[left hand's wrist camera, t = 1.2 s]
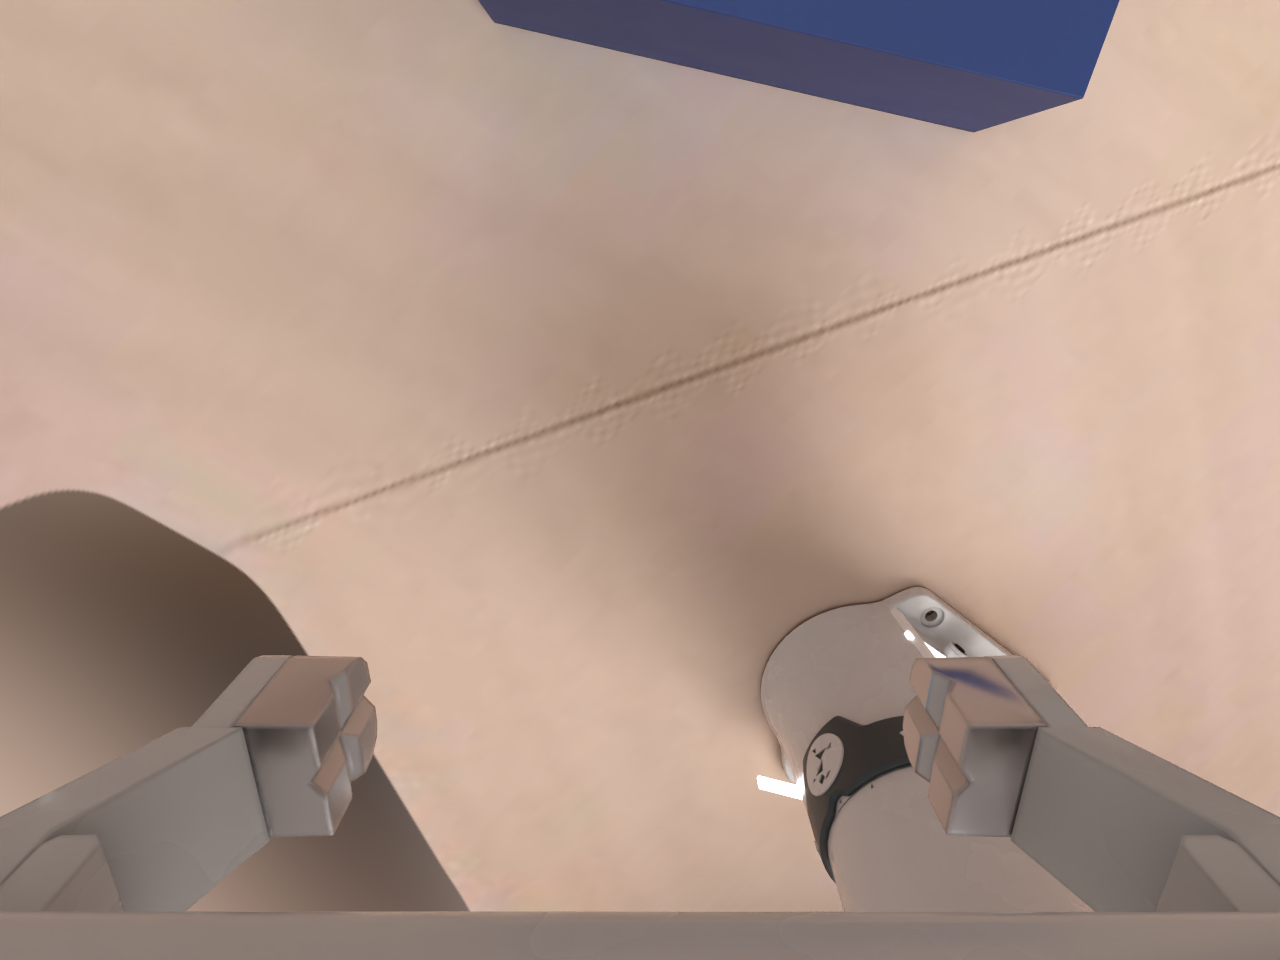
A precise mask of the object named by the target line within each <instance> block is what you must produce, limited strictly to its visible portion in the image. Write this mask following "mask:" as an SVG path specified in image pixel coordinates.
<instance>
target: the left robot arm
mask: <svg viewBox="0 0 1280 960" xmlns="http://www.w3.org/2000/svg"><path fill="white" fill-rule="evenodd" d="M929 611H933V613H932V614H931V615H929V616H925V615H926V613H927V612H929ZM370 682H371V679H370V674H369V669H368V664H367V662H366V661H365V660H364V659H363V658H362V657H335V656H260V657H257V658H254V659H253V660H252V661H251V662H250V663H249V664H248V665H247V666H246V667H245V668H244V670H243V671H242V672H241V673H240V674H239V675H238V676H237V677H236V678H235V679H234V681H233V682H232V683H231V684H230V685H229V686H228V687H227V688H226V689H225V691H224V692H223V693H222V694H221V695H220V696H219V697H218V698H217V699H216V701H215V702H214V703H213V704H212V705H211V706H210V707H209V708H208V709H207V711H206V712H205V713H204V714H203V715H202V716H201V717H200V718H199V719H198V720H197V722H196V723H195V724H194V725H193V726H192V727H180V728H178V729H176V730H174V731H172V732H170V733H168V734H166V735H164V736H162V737H160V738H158V739H156V740H154V741H152V742H150V743H148V744H146V745H144V746H142V747H140V748H138V749H136V750H134V751H132V752H130V753H128V754H126V755H124V756H122V757H120V758H118V759H116V760H114V761H112V762H110V763H108V764H106V765H104V766H102V767H100V768H98V769H96V770H94V771H92V772H90V773H88V774H86V775H84V776H82V777H80V778H78V779H76V780H74V781H72V782H70V783H68V784H66V785H64V786H62V787H60V788H58V789H56V790H54V791H52V792H50V793H48V794H46V795H44V796H42V797H40V798H38V799H36V800H34V801H32V802H30V803H28V804H26V805H24V806H22V807H20V808H18V809H16V810H14V811H12V812H10V813H8V814H6V815H4V816H2V817H0V960H1280V817H1278V816H1276V815H1274V814H1272V813H1270V812H1268V811H1266V810H1264V809H1262V808H1260V807H1258V806H1256V805H1254V804H1252V803H1250V802H1248V801H1246V800H1244V799H1242V798H1240V797H1238V796H1236V795H1234V794H1232V793H1230V792H1228V791H1226V790H1224V789H1222V788H1220V787H1218V786H1216V785H1214V784H1212V783H1210V782H1208V781H1206V780H1204V779H1202V778H1200V777H1198V776H1196V775H1194V774H1192V773H1190V772H1188V771H1186V770H1184V769H1182V768H1180V767H1178V766H1176V765H1174V764H1172V763H1170V762H1168V761H1166V760H1164V759H1162V758H1160V757H1158V756H1156V755H1154V754H1152V753H1150V752H1148V751H1146V750H1144V749H1142V748H1140V747H1138V746H1136V745H1134V744H1132V743H1130V742H1128V741H1126V740H1124V739H1122V738H1120V737H1118V736H1116V735H1114V734H1112V733H1110V732H1108V731H1106V730H1104V729H1102V728H1100V727H1088V726H1087V725H1086V724H1085V723H1084V722H1083V720H1082V719H1081V718H1080V717H1079V716H1078V715H1077V714H1076V713H1075V712H1074V711H1073V709H1072V708H1071V707H1070V706H1069V705H1068V704H1067V703H1066V702H1065V701H1064V699H1063V698H1062V697H1061V696H1060V695H1059V694H1058V693H1057V691H1056V690H1055V688H1054V687H1053V686H1052V685H1051V684H1050V683H1049V682H1048V681H1047V680H1046V679H1045V678H1044V677H1043V676H1042V675H1041V674H1040V673H1039V672H1038V671H1037V670H1036V668H1035V667H1034V666H1033V665H1032V664H1031V663H1030V662H1029V661H1028V660H1027V659H1026V658H1024V657H1021V656H1019V655H1013V654H1012V653H1010V652H1009V651H1008V650H1006V649H1005V648H1004V647H1003V646H1001V645H1000V644H999V643H997V642H996V641H995V640H993V639H992V638H991V637H989V636H988V635H987V634H986V633H984V632H983V631H982V630H980V629H979V628H978V627H976V626H975V625H974V624H972V623H971V622H970V621H969V620H967V619H966V618H965V617H963V616H962V615H961V614H959V613H958V612H957V611H956V610H954V609H953V608H952V607H950V606H949V605H948V604H946V603H945V602H944V601H942V600H941V599H940V598H939V597H937V596H936V595H935V594H933V593H932V592H931V591H929V590H928V589H926V588H923V587H913V588H909V589H906V590H904V591H901V592H899V593H897V594H894V595H892V596H890V597H888V598H886V599H884V600H882V601H879V602H875V603H869V604H860V605H851V606H845V607H840V608H836V609H833V610H829V611H827V612H824V613H821V614H819V615H817V616H815V617H813V618H811V619H809V620H807V621H806V622H804V623H802V624H801V625H800V626H798V627H797V628H795V629H794V630H793V631H792V632H791V633H789V634H788V635H787V636H786V637H785V638H784V639H783V640H782V641H781V643H780V644H779V645H778V646H777V648H776V649H775V650H774V652H773V653H772V655H771V657H770V659H769V661H768V662H767V665H766V667H765V670H764V673H763V677H762V682H761V704H762V708H763V712H764V715H765V717H766V720H767V722H768V724H769V725H770V727H771V729H772V730H773V732H774V734H775V736H776V738H777V740H778V741H779V743H780V746H781V760H782V765H783V769H784V771H785V773H786V776H787V778H788V779H789V780H790V781H791V782H792V783H795V784H796V785H794V784H790V783H786V782H782V781H778V780H774V779H771V778H767V777H763V776H759V775H758V777H757V781H758V786H759V789H762V790H766V791H770V792H774V793H778V794H782V795H785V796H789V797H793V798H797V799H801V800H803V802H804V804H805V807H806V809H807V812H808V816H809V819H810V823H811V827H812V830H813V834H814V837H815V841H814V842H815V845H816V848H817V851H818V853H819V855H820V857H821V859H822V861H823V864H824V866H825V869H826V871H827V872H828V874H829V876H830V877H831V878H832V880H833V881H834V882H835V883H836V885H837V889H838V892H839V896H840V899H841V902H842V906H843V909H844V912H185V911H186V910H188V909H189V908H190V907H191V906H192V905H194V904H195V903H196V902H197V901H198V900H200V899H201V898H202V897H203V896H204V895H205V894H207V893H208V892H209V891H210V890H211V889H213V888H214V887H215V886H216V885H217V884H219V883H220V882H221V881H222V880H223V879H225V878H226V877H227V876H228V875H229V874H231V873H232V872H233V871H234V870H235V869H236V868H238V867H239V866H240V865H241V864H242V863H243V862H245V861H246V860H247V859H248V858H250V857H251V856H252V855H253V854H254V853H256V852H257V851H258V850H259V849H260V848H261V847H263V846H264V845H265V844H266V843H267V842H269V837H297V836H330V835H333V834H334V832H335V831H336V828H337V827H338V825H339V823H340V821H341V819H342V817H343V815H344V813H345V811H346V809H347V807H348V805H349V803H350V801H351V799H352V797H353V796H352V791H351V785H350V783H351V782H352V781H354V780H355V779H357V778H358V777H359V776H361V775H362V774H364V773H365V771H366V769H367V767H368V765H369V763H370V761H371V759H372V756H373V751H374V747H375V743H376V738H377V717H376V710H375V706H374V705H373V704H372V703H371V702H370V701H369V700H368V699H367V698H366V697H365V696H364V695H363V694H364V693H365V691H366V689H367V688H368V686H369V684H370Z"/></svg>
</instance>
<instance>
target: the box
mask: <svg viewBox="0 0 1280 960" xmlns="http://www.w3.org/2000/svg"><path fill="white" fill-rule="evenodd" d="M479 2H480V3H481V5H482V6H483V7H484V9H485V10H486V11H487V13H488V14H489V16H490V17H491V18H492V20H493V21H494V22H495V23H499V24H504V25H508V26H512V27H517V28H521V29H526V30H530V31H534V32H539V33H543V34H547V35H552V36H556V37H560V38H565V39H569V40H574V41H578V42H582V43H587V44H591V45H595V46H600V47H604V48H608V49H613V50H617V51H621V52H626V53H630V54H635V55H639V56H643V57H648V58H652V59H656V60H661V61H665V62H669V63H674V64H678V65H683V66H687V67H691V68H696V69H700V70H704V71H709V72H713V73H717V74H722V75H726V76H730V77H735V78H739V79H744V80H748V81H752V82H757V83H761V84H765V85H770V86H774V87H778V88H783V89H787V90H792V91H796V92H800V93H805V94H809V95H813V96H818V97H822V98H826V99H831V100H835V101H839V102H844V103H848V104H853V105H857V106H861V107H866V108H870V109H874V110H879V111H883V112H887V113H892V114H896V115H901V116H905V117H909V118H914V119H918V120H922V121H927V122H931V123H935V124H940V125H944V126H948V127H953V128H957V129H962V130H966V131H970V132H976V131H979V130H983V129H986V128H989V127H992V126H996V125H999V124H1002V123H1005V122H1008V121H1012V120H1015V119H1018V118H1021V117H1024V116H1028V115H1031V114H1034V113H1037V112H1041V111H1044V110H1047V109H1050V108H1053V107H1057V106H1060V105H1063V104H1066V103H1069V102H1073V101H1076V100H1079V99H1082V98H1083V97H1084V94H1085V92H1086V89H1087V86H1088V84H1089V81H1090V78H1091V75H1092V73H1093V70H1094V67H1095V65H1096V62H1097V59H1098V57H1099V54H1100V51H1101V48H1102V46H1103V43H1104V40H1105V38H1106V35H1107V32H1108V30H1109V27H1110V24H1111V22H1112V19H1113V16H1114V13H1115V11H1116V8H1117V5H1118V3H1119V0H479Z"/></svg>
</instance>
